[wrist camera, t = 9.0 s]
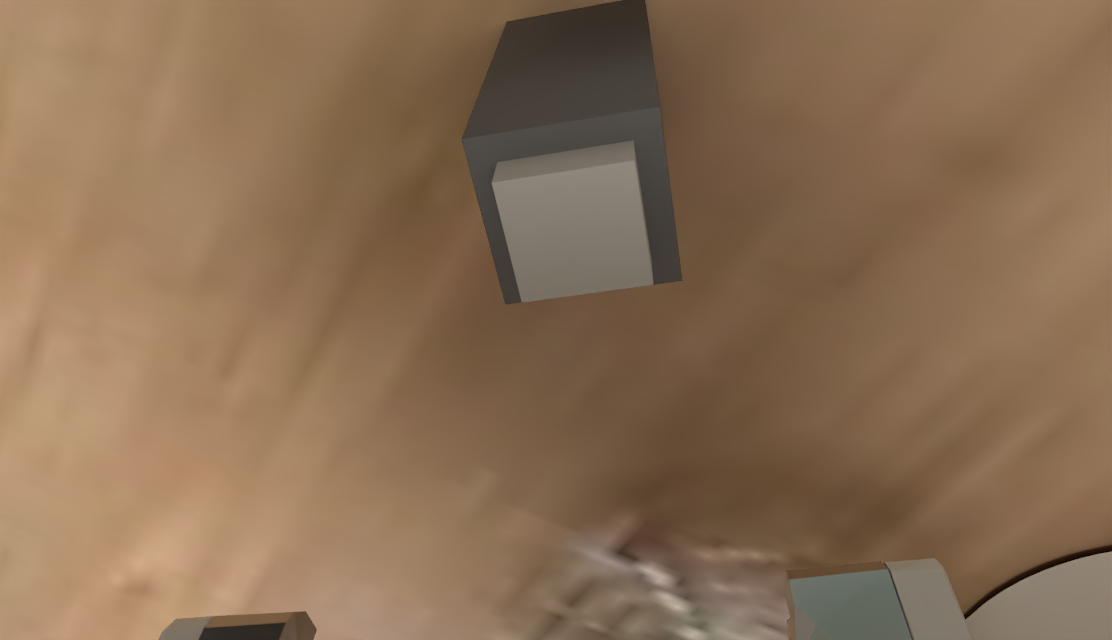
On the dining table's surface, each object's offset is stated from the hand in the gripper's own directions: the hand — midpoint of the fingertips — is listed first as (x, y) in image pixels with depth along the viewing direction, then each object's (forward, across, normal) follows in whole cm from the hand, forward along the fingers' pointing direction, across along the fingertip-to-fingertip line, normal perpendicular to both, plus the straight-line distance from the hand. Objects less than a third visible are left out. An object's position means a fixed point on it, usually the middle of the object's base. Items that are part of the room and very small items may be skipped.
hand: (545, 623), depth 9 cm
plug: (+19, 0, 0) cm, 19 cm away
